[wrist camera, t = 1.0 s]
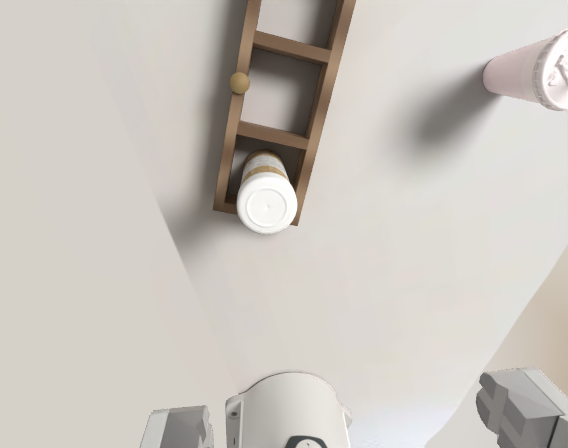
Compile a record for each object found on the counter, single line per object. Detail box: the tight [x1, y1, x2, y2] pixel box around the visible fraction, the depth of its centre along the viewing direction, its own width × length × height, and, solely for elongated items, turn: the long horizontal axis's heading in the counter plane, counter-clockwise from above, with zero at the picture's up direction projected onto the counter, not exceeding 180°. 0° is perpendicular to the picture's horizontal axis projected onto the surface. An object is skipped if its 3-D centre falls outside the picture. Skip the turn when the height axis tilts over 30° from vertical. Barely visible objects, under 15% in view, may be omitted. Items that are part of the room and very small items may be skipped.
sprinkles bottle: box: [237, 150, 297, 234], centre depth 32 cm, size 5×5×13 cm
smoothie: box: [483, 28, 568, 111], centre depth 30 cm, size 6×6×14 cm
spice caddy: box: [213, 0, 356, 226], centre depth 34 cm, size 25×9×4 cm, turn 167°
